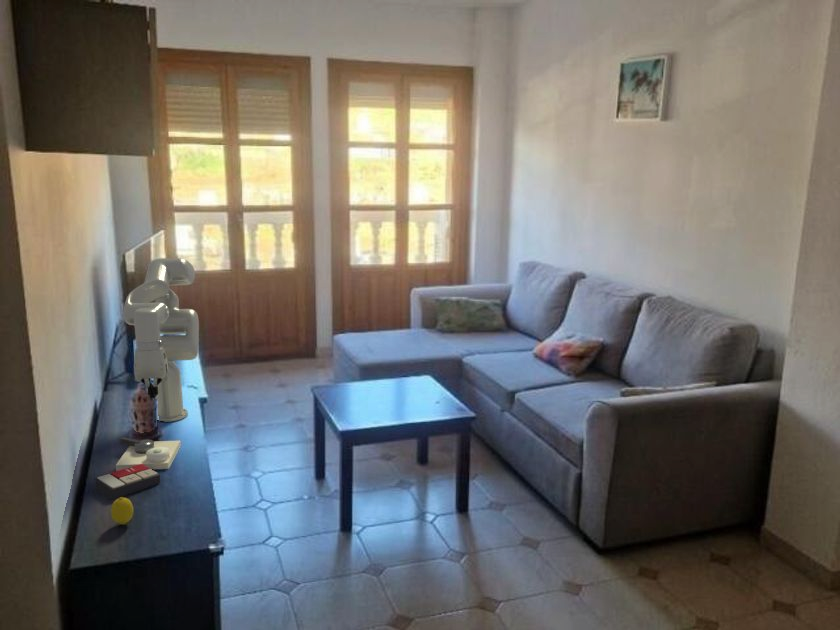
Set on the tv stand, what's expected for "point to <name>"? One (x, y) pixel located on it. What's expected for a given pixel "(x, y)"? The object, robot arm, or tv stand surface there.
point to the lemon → (122, 510)
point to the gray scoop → (138, 444)
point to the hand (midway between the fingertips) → (153, 396)
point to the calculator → (126, 481)
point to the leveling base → (142, 458)
